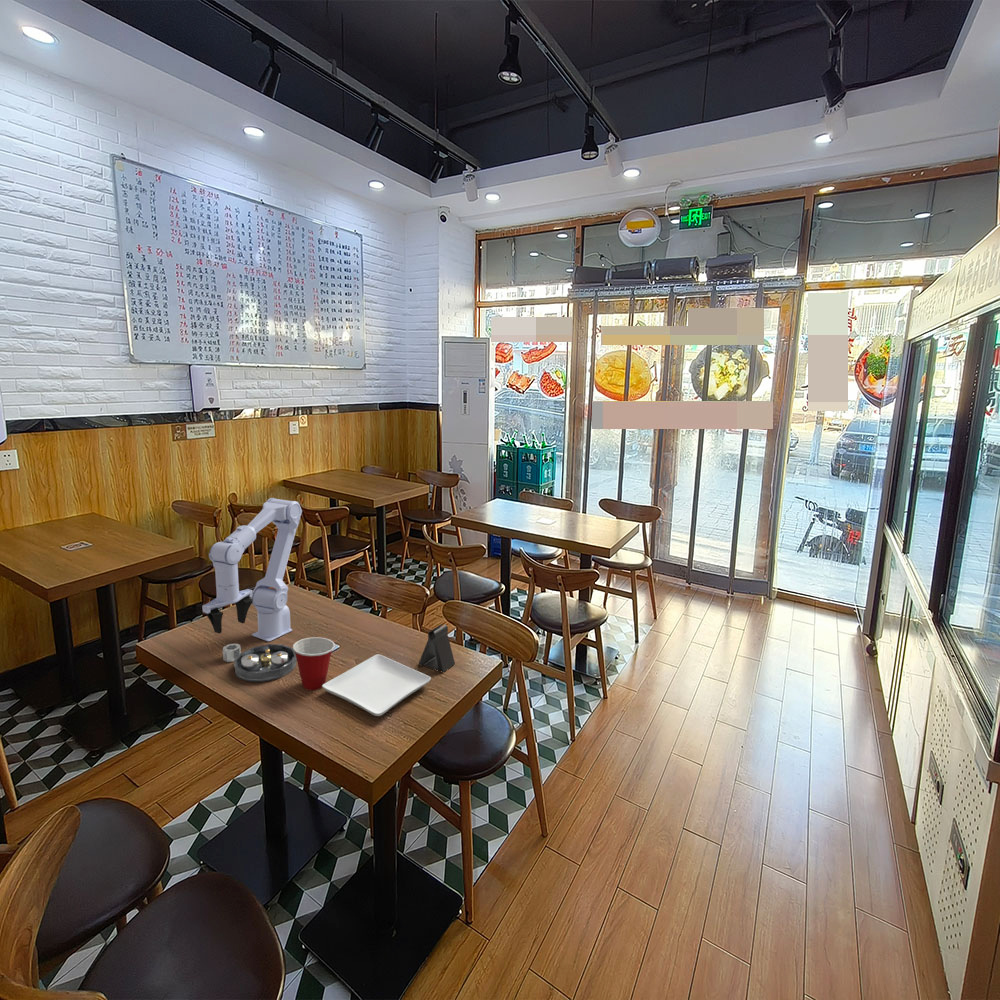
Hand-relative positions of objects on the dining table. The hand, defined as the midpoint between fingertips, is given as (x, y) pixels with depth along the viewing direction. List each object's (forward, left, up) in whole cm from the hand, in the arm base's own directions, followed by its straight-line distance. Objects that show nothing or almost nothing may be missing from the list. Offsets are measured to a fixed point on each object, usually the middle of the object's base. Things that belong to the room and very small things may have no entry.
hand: (230, 627), depth 155 cm
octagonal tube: (0, 0, -10) cm, 10 cm away
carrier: (-2, +12, -10) cm, 16 cm away
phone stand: (-30, +52, -10) cm, 61 cm away
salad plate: (-10, +46, -10) cm, 49 cm away
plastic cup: (-3, +30, -10) cm, 32 cm away
